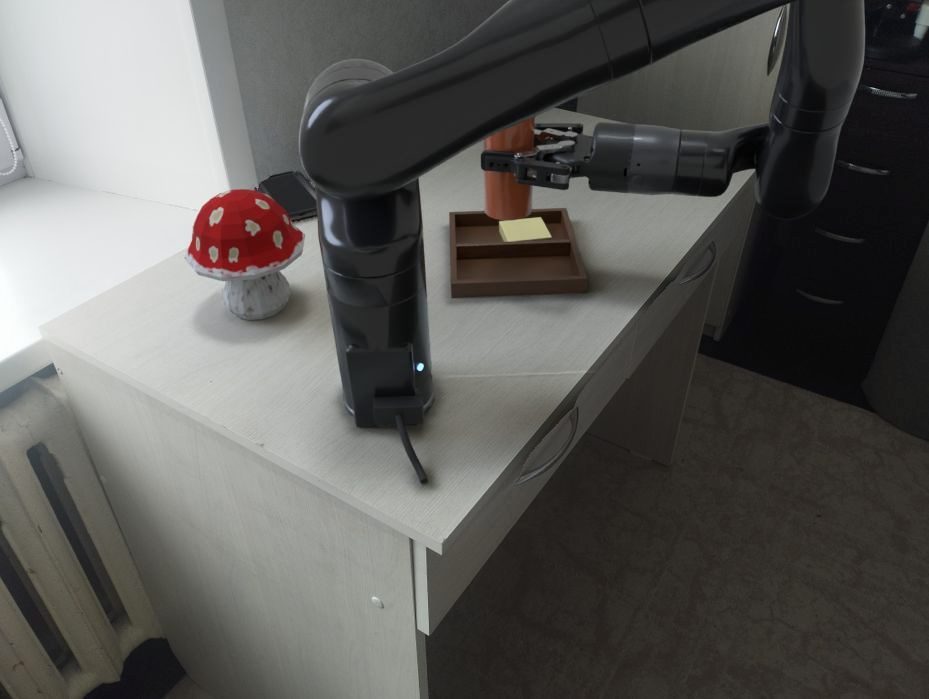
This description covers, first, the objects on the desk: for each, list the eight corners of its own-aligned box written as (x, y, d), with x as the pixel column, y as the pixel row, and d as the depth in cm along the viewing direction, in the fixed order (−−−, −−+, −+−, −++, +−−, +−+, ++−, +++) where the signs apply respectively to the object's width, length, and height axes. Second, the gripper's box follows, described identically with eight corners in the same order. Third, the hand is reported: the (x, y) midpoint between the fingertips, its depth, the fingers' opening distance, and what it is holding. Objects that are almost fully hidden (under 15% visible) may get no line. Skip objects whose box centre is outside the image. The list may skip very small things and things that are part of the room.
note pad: (551, 246, 101) (552, 237, 101) (508, 251, 101) (508, 241, 100) (540, 226, 106) (541, 216, 105) (499, 230, 106) (499, 221, 105)
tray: (586, 296, 93) (587, 278, 91) (451, 300, 92) (450, 283, 91) (565, 223, 108) (566, 207, 106) (449, 227, 108) (449, 211, 106)
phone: (298, 169, 122) (328, 205, 112) (299, 175, 123) (329, 212, 112) (250, 179, 120) (276, 217, 109) (252, 186, 120) (277, 224, 110)
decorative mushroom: (305, 267, 100) (286, 160, 91) (327, 323, 89) (308, 208, 80) (197, 289, 96) (165, 180, 87) (206, 350, 86) (172, 233, 76)
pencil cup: (534, 219, 89) (538, 80, 79) (485, 221, 89) (484, 82, 79) (529, 198, 94) (533, 64, 84) (483, 200, 94) (481, 65, 84)
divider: (569, 255, 100) (570, 242, 98) (456, 259, 99) (456, 246, 98) (568, 252, 100) (569, 239, 99) (456, 256, 100) (456, 243, 99)
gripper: (641, 104, 87) (499, 96, 91) (634, 151, 76) (472, 141, 80) (634, 165, 92) (499, 155, 95) (626, 218, 81) (473, 205, 84)
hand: (487, 149), depth 87 cm, fingers closed on pencil cup, 6 cm apart
